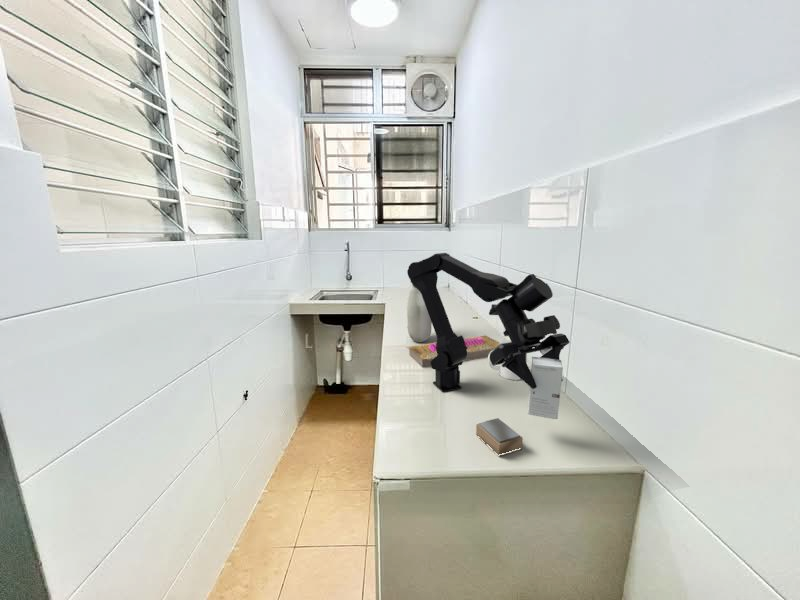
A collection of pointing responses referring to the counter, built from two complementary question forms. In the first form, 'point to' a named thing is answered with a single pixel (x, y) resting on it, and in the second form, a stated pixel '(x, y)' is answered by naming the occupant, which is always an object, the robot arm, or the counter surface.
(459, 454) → the counter surface
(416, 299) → the glass bottle
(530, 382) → the robot arm
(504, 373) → the mug
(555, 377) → the skincare box
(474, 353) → the rafter model
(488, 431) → the block
